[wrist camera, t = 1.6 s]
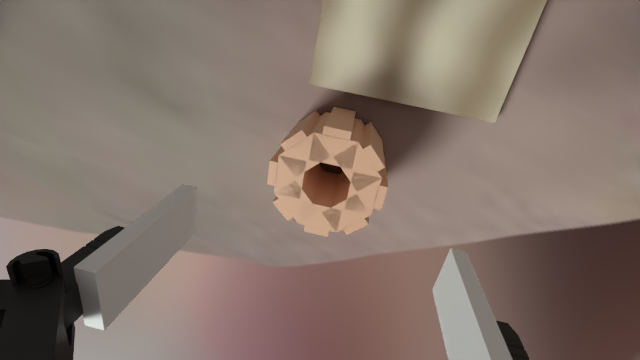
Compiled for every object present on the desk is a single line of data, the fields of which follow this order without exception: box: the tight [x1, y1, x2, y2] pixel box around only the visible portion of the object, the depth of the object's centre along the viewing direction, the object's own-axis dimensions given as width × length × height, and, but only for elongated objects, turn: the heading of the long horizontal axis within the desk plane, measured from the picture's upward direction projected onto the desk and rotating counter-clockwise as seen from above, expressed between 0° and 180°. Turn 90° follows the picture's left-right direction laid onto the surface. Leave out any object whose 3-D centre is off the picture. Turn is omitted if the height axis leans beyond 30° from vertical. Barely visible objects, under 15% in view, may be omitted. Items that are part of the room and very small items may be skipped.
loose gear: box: [267, 107, 388, 237], centre depth 24 cm, size 8×8×6 cm
